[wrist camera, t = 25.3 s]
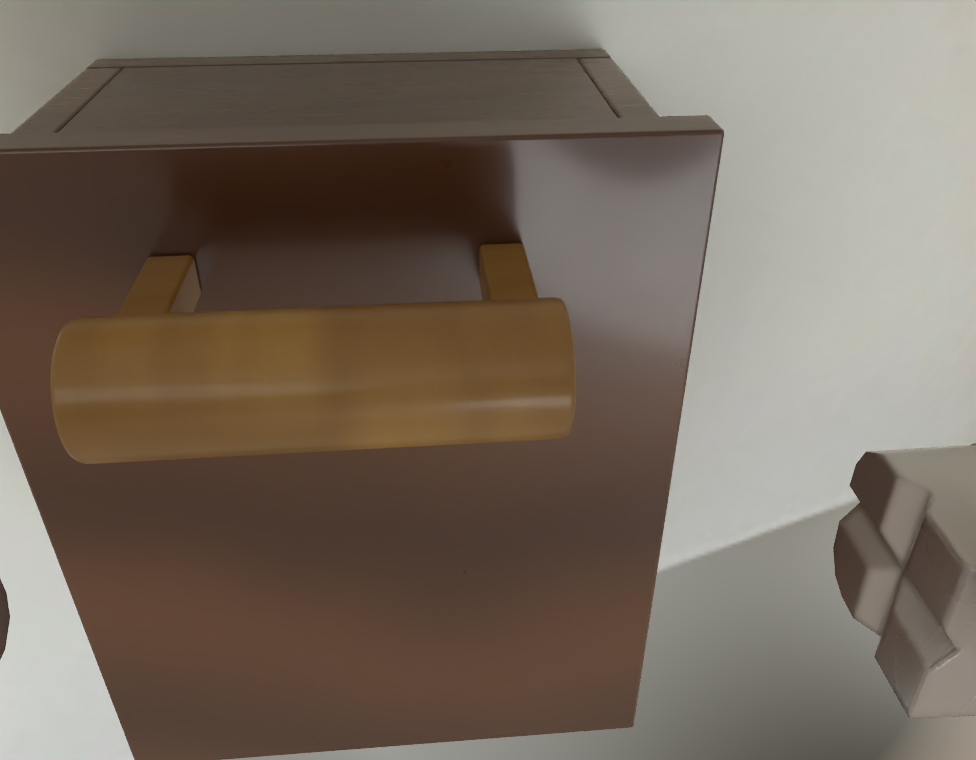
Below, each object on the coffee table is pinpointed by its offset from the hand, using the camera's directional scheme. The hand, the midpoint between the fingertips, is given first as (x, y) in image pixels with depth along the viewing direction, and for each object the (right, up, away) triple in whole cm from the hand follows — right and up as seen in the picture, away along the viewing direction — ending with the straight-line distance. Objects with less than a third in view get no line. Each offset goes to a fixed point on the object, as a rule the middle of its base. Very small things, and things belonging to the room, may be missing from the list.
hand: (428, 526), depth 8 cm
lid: (-2, -1, +9) cm, 9 cm away
